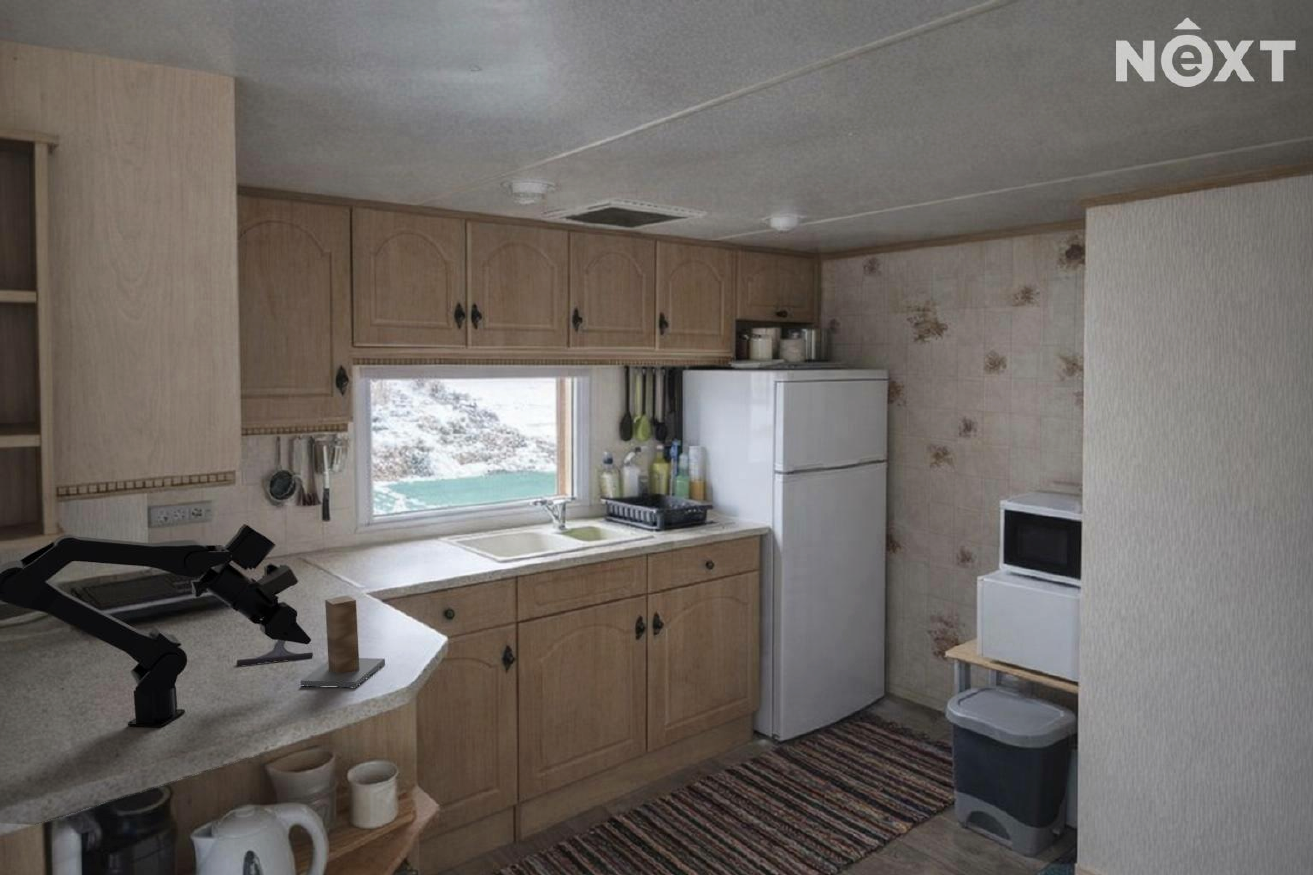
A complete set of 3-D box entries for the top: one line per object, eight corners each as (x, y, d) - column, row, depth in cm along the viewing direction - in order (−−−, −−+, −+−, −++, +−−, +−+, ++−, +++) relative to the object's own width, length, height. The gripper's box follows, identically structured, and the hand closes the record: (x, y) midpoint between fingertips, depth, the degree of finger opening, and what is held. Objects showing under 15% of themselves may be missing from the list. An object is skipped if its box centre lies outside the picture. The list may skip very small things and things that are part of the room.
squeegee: (317, 640, 196) (316, 627, 196) (312, 661, 182) (311, 648, 182) (247, 647, 192) (246, 635, 192) (237, 669, 178) (236, 656, 178)
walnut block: (336, 675, 168) (332, 604, 167) (328, 668, 172) (325, 599, 171) (359, 669, 171) (356, 599, 170) (351, 663, 175) (348, 595, 174)
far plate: (355, 688, 165) (355, 682, 165) (301, 686, 166) (300, 680, 166) (385, 664, 178) (384, 658, 177) (333, 663, 179) (333, 657, 179)
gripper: (281, 562, 154) (347, 611, 162) (254, 546, 169) (315, 592, 177) (236, 614, 150) (305, 662, 158) (212, 593, 165) (277, 637, 172)
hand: (302, 636), depth 166 cm, fingers open, 9 cm apart
